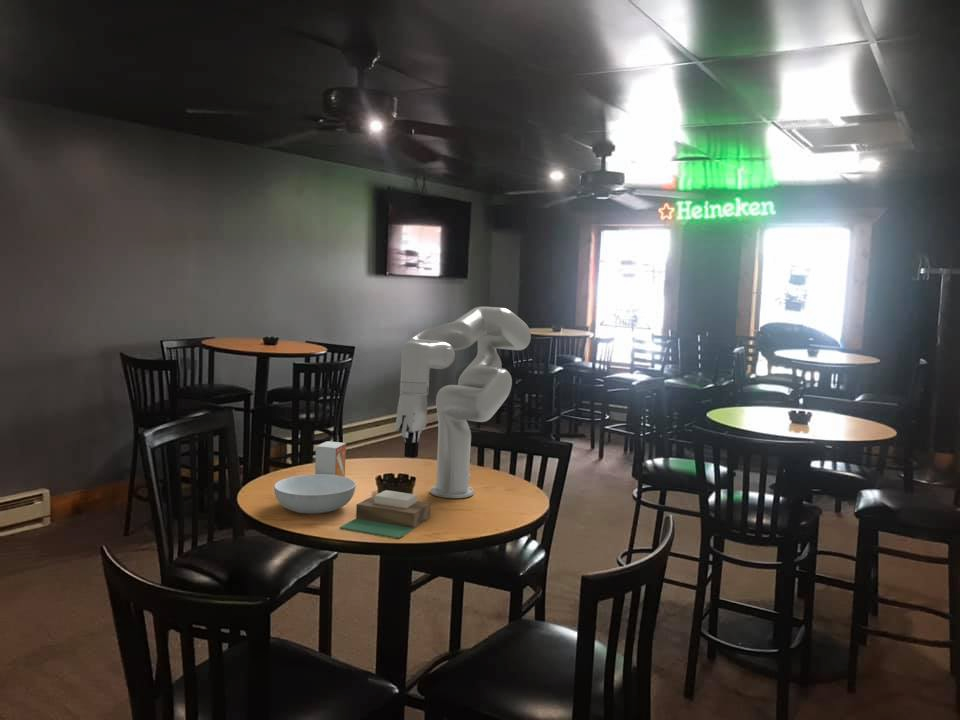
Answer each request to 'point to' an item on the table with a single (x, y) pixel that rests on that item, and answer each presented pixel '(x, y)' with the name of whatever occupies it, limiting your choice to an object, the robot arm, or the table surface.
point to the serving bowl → (314, 493)
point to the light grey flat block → (395, 499)
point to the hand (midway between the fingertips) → (411, 456)
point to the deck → (393, 513)
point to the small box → (330, 458)
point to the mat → (376, 528)
